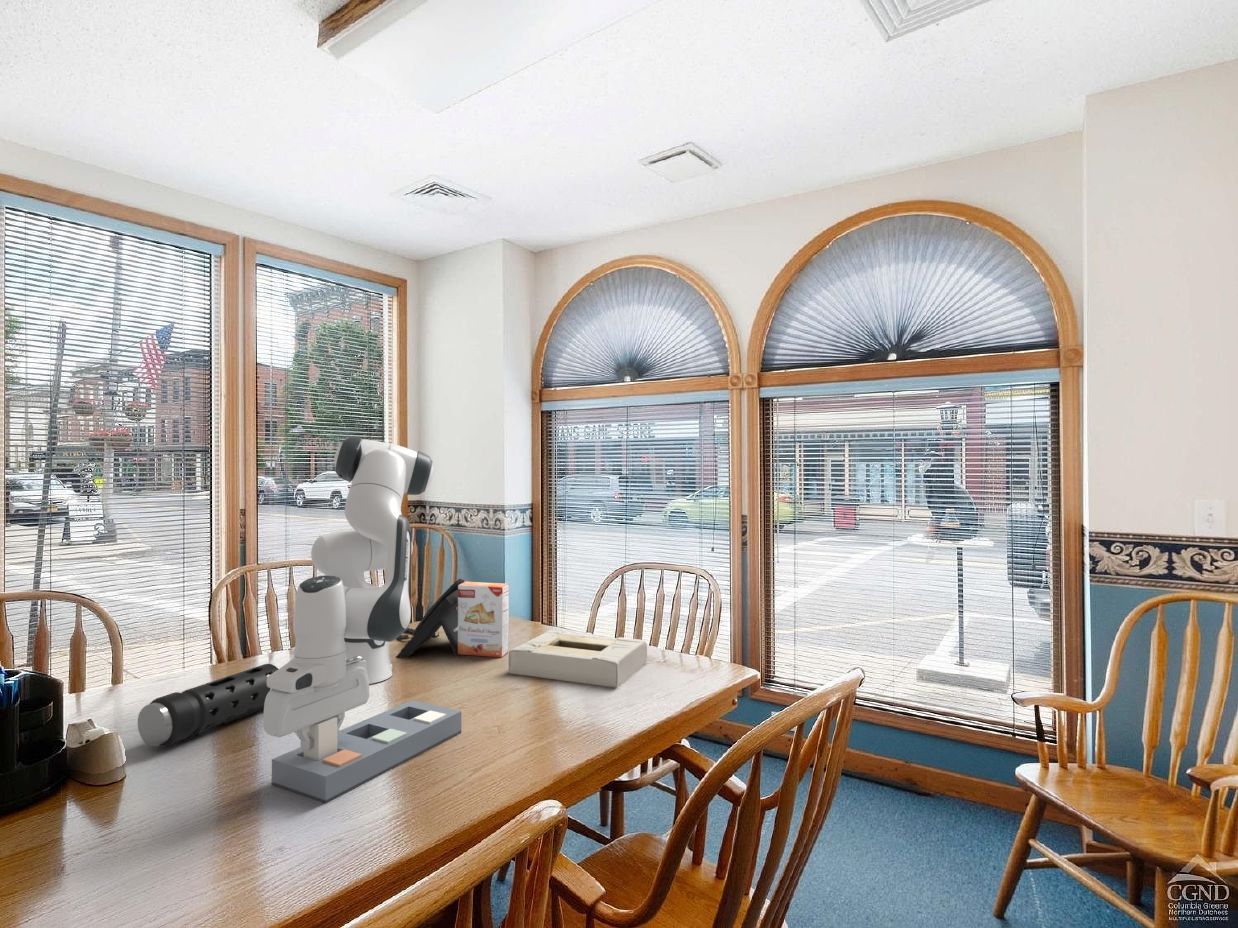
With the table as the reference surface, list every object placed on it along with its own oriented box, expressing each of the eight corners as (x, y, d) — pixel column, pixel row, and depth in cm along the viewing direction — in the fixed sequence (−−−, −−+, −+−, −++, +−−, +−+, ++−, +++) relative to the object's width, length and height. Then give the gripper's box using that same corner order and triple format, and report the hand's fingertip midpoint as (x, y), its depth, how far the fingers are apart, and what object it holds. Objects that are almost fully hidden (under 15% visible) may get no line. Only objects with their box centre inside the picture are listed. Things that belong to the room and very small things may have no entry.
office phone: (394, 632, 230) (395, 572, 230) (479, 633, 229) (479, 573, 229) (357, 657, 201) (357, 588, 200) (454, 659, 199) (454, 589, 199)
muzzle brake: (285, 709, 159) (285, 664, 159) (168, 758, 133) (168, 704, 133) (254, 703, 163) (254, 659, 163) (134, 750, 137) (134, 698, 137)
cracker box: (456, 655, 203) (456, 584, 202) (465, 649, 209) (465, 580, 208) (502, 658, 200) (502, 586, 200) (509, 652, 206) (509, 582, 206)
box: (507, 676, 186) (618, 689, 174) (507, 647, 186) (618, 659, 174) (546, 654, 207) (647, 665, 196) (546, 628, 207) (647, 638, 196)
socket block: (271, 784, 122) (271, 756, 122) (412, 720, 152) (412, 698, 152) (325, 803, 116) (325, 774, 116) (461, 732, 146) (461, 709, 146)
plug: (303, 765, 124) (303, 720, 124) (322, 756, 128) (322, 713, 128) (318, 769, 123) (318, 725, 122) (337, 761, 126) (337, 717, 126)
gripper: (354, 651, 136) (354, 721, 136) (257, 680, 118) (257, 761, 118) (377, 655, 133) (377, 726, 133) (281, 686, 115) (281, 769, 115)
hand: (320, 743), depth 125 cm, fingers closed on plug, 4 cm apart
